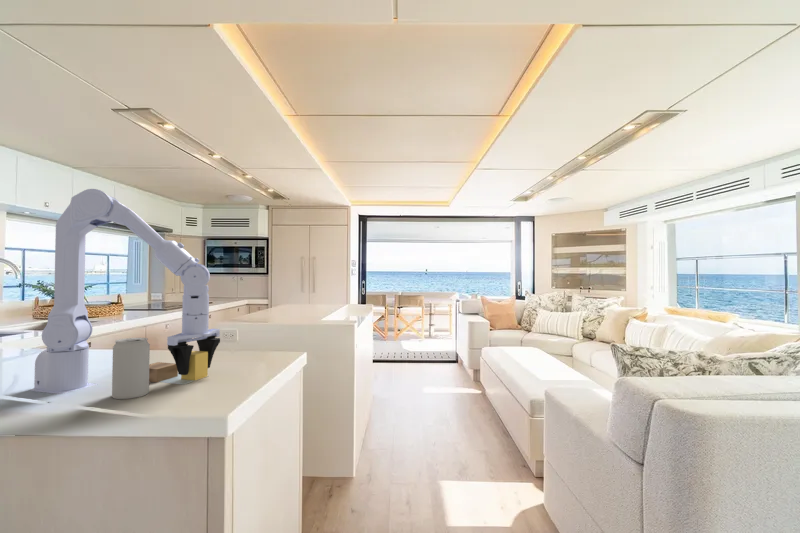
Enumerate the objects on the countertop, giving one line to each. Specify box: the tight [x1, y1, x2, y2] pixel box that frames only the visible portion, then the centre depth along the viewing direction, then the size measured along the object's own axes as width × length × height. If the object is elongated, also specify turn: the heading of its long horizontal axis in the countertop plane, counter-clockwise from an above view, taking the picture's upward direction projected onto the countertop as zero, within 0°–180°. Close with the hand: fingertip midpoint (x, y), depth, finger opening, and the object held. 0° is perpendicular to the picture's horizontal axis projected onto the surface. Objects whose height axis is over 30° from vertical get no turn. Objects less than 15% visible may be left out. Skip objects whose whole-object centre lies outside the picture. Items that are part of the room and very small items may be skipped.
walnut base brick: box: [149, 361, 178, 383], centre depth 98 cm, size 6×6×3 cm
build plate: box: [159, 374, 209, 385], centre depth 98 cm, size 12×8×1 cm, turn 74°
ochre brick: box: [181, 350, 209, 381], centre depth 99 cm, size 4×4×6 cm
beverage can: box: [111, 337, 151, 400], centre depth 85 cm, size 6×6×12 cm
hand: (194, 371), depth 99 cm, fingers open, 6 cm apart
